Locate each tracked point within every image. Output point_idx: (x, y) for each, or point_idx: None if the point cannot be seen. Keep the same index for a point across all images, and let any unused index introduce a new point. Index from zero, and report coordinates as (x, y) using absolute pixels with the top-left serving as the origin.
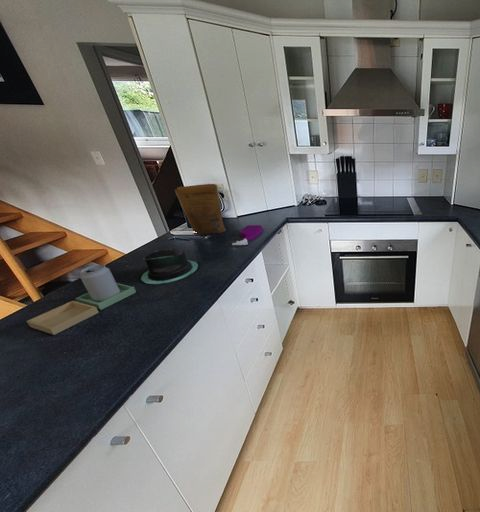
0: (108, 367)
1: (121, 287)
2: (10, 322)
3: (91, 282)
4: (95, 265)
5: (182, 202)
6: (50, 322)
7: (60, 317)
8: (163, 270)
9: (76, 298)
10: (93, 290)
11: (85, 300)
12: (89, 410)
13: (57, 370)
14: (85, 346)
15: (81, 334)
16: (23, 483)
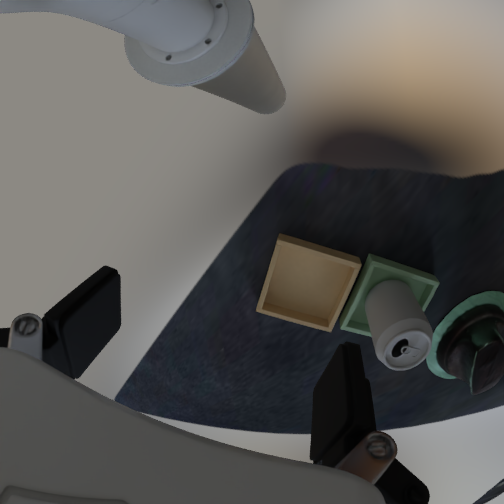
0: (209, 403)
1: None
2: (293, 167)
3: (373, 343)
4: (429, 341)
5: None
6: (293, 264)
7: (311, 268)
8: (454, 361)
9: (370, 264)
10: (369, 324)
11: (359, 293)
12: (165, 410)
13: (193, 363)
14: (237, 364)
15: (263, 341)
16: (120, 401)
